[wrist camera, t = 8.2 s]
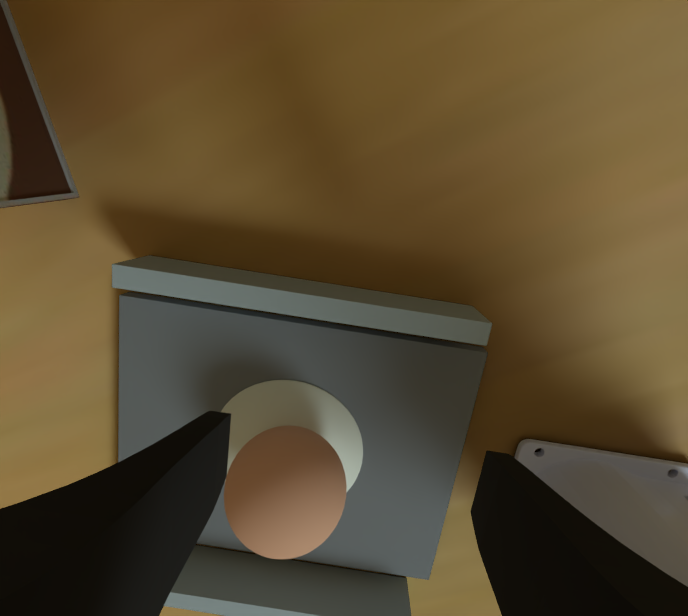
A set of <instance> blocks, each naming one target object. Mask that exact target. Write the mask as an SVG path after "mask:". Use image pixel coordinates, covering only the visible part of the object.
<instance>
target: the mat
mask: <svg viewBox="0 0 688 616" xmlns="http://www.w3.org/2000/svg"><path fill="white" fill-rule="evenodd" d="M487 354H488V352H487V351H486V350H485V349H484V348H483V347H479V346H472V345H466V344H460V343H453V342H447V341H440V340H434V339H428V338H421V337H415V336H409V335H402V334H396V333H389V332H383V331H377V330H370V329H364V328H357V327H351V326H345V325H338V324H332V323H325V322H319V321H313V320H306V319H300V318H293V317H287V316H281V315H274V314H268V313H262V312H255V311H249V310H242V309H236V308H230V307H223V306H217V305H210V304H204V303H198V302H191V301H185V300H178V299H172V298H166V297H159V296H153V295H146V294H140V293H134V292H127V293H124V294H121V295H119V428H118V462H120V461H122V460H124V459H126V458H128V457H130V456H132V455H133V454H135V453H137V452H139V451H141V450H143V449H145V448H147V447H148V446H150V445H152V444H154V443H156V442H157V441H159V440H161V439H163V438H164V437H166V436H168V435H169V434H171V433H173V432H174V431H176V430H178V429H179V428H181V427H183V426H184V425H186V424H188V423H189V422H191V421H193V420H194V419H196V418H197V417H199V416H201V415H202V414H204V413H206V412H208V411H217V412H224V413H231V424H230V438H229V451H228V465H227V473H228V470H229V468H230V466H231V464H232V462H233V460H234V458H235V457H236V455H237V453H238V452H239V451H240V450H241V448H242V447H243V446H244V445H245V444H246V443H247V442H248V441H249V440H251V439H252V438H253V437H255V436H256V435H258V434H260V433H261V432H263V431H266V430H268V429H271V428H274V427H279V426H299V427H304V428H307V429H309V430H312V431H314V432H316V433H317V434H319V435H321V436H322V437H323V438H324V439H326V440H327V441H328V442H329V444H330V445H331V446H332V447H333V448H334V449H335V451H336V452H337V454H338V456H339V458H340V460H341V462H342V465H343V468H344V472H345V476H346V485H347V489H346V501H345V506H344V509H343V512H342V515H341V518H340V520H339V522H338V524H337V526H336V527H335V529H334V530H333V532H332V533H331V534H330V536H329V537H328V538H327V539H326V540H325V541H324V542H323V543H322V544H321V545H319V546H318V547H317V548H315V549H314V550H313V551H311V552H309V553H307V554H305V555H302V556H299V557H296V558H292V559H299V560H305V561H312V562H318V563H324V564H331V565H337V566H344V567H350V568H356V569H363V570H369V571H375V572H382V573H388V574H395V575H401V576H407V577H414V578H420V579H427V580H429V577H430V573H431V569H432V565H433V562H434V558H435V554H436V550H437V546H438V542H439V539H440V535H441V531H442V527H443V523H444V519H445V515H446V512H447V508H448V504H449V500H450V496H451V492H452V489H453V485H454V481H455V477H456V473H457V469H458V466H459V462H460V458H461V454H462V450H463V446H464V443H465V439H466V435H467V431H468V427H469V423H470V419H471V416H472V412H473V408H474V404H475V400H476V396H477V393H478V389H479V385H480V381H481V377H482V373H483V370H484V366H485V362H486V358H487ZM225 481H226V479H225ZM224 487H225V482H224V485H223V487H222V490H221V493H220V495H219V498H218V500H217V503H216V505H215V508H214V510H213V512H212V514H211V516H210V518H209V520H208V522H207V524H206V526H205V528H204V530H203V532H202V533H201V535H200V537H199V539H198V541H197V544H203V545H209V546H216V547H222V548H229V549H235V550H241V551H248V552H253V551H252V550H250V549H248V548H247V547H246V546H245V545H244V544H243V543H242V542H241V541H240V540H239V539H238V538H237V537H236V535H235V534H234V532H233V530H232V528H231V527H230V524H229V522H228V519H227V516H226V512H225V507H224ZM254 553H255V552H254Z"/></svg>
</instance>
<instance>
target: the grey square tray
mask: <svg viewBox="0 0 688 616" xmlns="http://www.w3.org/2000/svg"><path fill="white" fill-rule="evenodd" d="M112 287H113V288H119V289H126V290H132V291H139V292H145V293H151V294H158V295H164V296H171V297H177V298H183V299H190V300H196V301H202V302H209V303H215V304H222V305H228V306H234V307H241V308H247V309H254V310H260V311H266V312H273V313H279V314H286V315H292V316H298V317H305V318H311V319H318V320H324V321H330V322H337V323H343V324H349V325H356V326H362V327H369V328H375V329H381V330H388V331H394V332H401V333H407V334H413V335H420V336H426V337H433V338H439V339H445V340H452V341H458V342H465V343H471V344H477V345H484V346H487V342H488V338H489V334H490V330H491V327H492V323H491V322H490V321H489V320H488V319H487V318H485V317H484V316H483V315H482V314H481V313H480V312H479V311H478V310H476V309H475V308H474V307H473V306H470V305H463V304H457V303H451V302H444V301H438V300H431V299H425V298H419V297H412V296H406V295H399V294H393V293H387V292H380V291H374V290H367V289H361V288H355V287H348V286H342V285H335V284H329V283H323V282H316V281H310V280H304V279H297V278H291V277H284V276H278V275H272V274H265V273H259V272H252V271H246V270H240V269H233V268H227V267H220V266H214V265H208V264H201V263H195V262H188V261H182V260H176V259H169V258H163V257H157V256H150V255H149V256H145V257H140V258H136V259H132V260H127V261H123V262H119V263H115V264H112ZM164 606H168V607H174V608H181V609H187V610H193V611H200V612H206V613H212V614H219V615H225V616H411V610H410V602H409V594H408V586H407V578H403V577H396V576H390V575H384V574H377V573H371V572H365V571H358V570H352V569H345V568H339V567H333V566H326V565H320V564H313V563H307V562H301V561H294V560H288V559H271V558H267V557H264V556H261V555H256V554H250V553H243V552H237V551H230V550H224V549H218V548H211V547H205V546H198V545H195V547H194V549H193V550H192V552H191V554H190V556H189V558H188V560H187V562H186V564H185V565H184V567H183V569H182V571H181V573H180V575H179V577H178V579H177V580H176V582H175V584H174V586H173V588H172V590H171V592H170V594H169V596H168V598H167V600H166V602H165V604H164Z"/></svg>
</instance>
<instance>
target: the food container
mask: <svg viewBox="0 0 688 616" xmlns="http://www.w3.org/2000/svg"><path fill="white" fill-rule="evenodd" d="M78 197H79V194H78V192H77V189H76V186H75V184H74V181H73V178H72V176H71V173H70V170H69V168H68V165H67V162H66V159H65V157H64V154H63V151H62V149H61V146H60V143H59V141H58V138H57V135H56V133H55V130H54V127H53V124H52V122H51V119H50V116H49V114H48V111H47V108H46V106H45V103H44V100H43V97H42V95H41V92H40V89H39V87H38V84H37V81H36V79H35V76H34V73H33V71H32V68H31V65H30V62H29V60H28V57H27V54H26V52H25V49H24V46H23V44H22V41H21V38H20V35H19V33H18V30H17V27H16V25H15V22H14V19H13V17H12V14H11V11H10V9H9V6H8V3H7V0H0V208H5V207H13V206H21V205H28V204H36V203H44V202H52V201H59V200H66V199H72V198H78Z"/></svg>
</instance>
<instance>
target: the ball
mask: <svg viewBox="0 0 688 616" xmlns="http://www.w3.org/2000/svg"><path fill="white" fill-rule="evenodd" d="M346 489H347V485H346V476H345V472H344V468H343V465H342V462H341V460H340V458H339V456H338V454H337V452H336V451H335V449H334V448H333V447H332V446H331V445H330V444H329V442H328V441H327V440H326V439H324V438H323V437H322V436H321V435H319V434H317V433H316V432H314V431H312V430H309V429H307V428H304V427H299V426H279V427H274V428H271V429H268V430H266V431H263V432H261V433H260V434H258V435H256V436H255V437H253V438H252V439H251V440H249V441H248V442H247V443H246V444H245V445H244V446H243V447H242V448H241V450H240V451H239V452H238V453H237V455H236V457H235V458H234V460H233V462H232V464H231V466H230V468H229V470H228V473H227V477H226V481H225V487H224V507H225V512H226V516H227V519H228V522H229V524H230V527H231V528H232V530H233V532H234V534H235V535H236V537H237V538H238V539H239V540H240V541H241V542H242V543H243V544H244V545H245V546H246V547H247V548H248V549H250V550H252V551H253V552H255V553H257V554H259V555H261V556H264V557H267V558H271V559H291V558H296V557H299V556H302V555H305V554H307V553H309V552H311V551H313V550H314V549H315V548H317V547H318V546H319V545H321V544H322V543H323V542H324V541H325V540H326V539H327V538H328V537H329V536H330V534H331V533H332V532H333V530H334V529H335V527H336V526H337V524H338V522H339V520H340V518H341V515H342V512H343V509H344V506H345V501H346Z"/></svg>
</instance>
